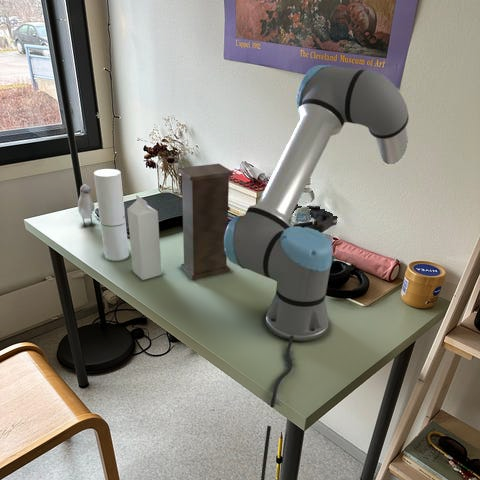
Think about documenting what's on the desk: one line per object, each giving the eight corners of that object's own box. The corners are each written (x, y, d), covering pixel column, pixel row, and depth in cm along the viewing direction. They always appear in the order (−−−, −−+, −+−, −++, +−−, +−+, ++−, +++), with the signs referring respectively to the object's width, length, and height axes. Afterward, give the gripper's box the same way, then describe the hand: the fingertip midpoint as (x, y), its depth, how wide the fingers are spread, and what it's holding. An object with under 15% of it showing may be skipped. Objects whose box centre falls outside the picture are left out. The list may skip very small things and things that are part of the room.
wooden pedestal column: (217, 260, 143) (219, 163, 126) (229, 271, 137) (233, 171, 121) (180, 268, 138) (177, 168, 121) (192, 280, 132) (190, 177, 116)
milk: (142, 280, 131) (135, 204, 118) (132, 271, 135) (125, 197, 122) (162, 274, 134) (157, 199, 121) (151, 266, 138) (146, 192, 125)
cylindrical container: (131, 251, 145) (124, 169, 131) (124, 261, 139) (115, 177, 125) (109, 249, 146) (99, 168, 132) (101, 259, 140) (89, 175, 126)
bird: (86, 234, 154) (79, 189, 146) (76, 219, 164) (69, 176, 155) (101, 231, 156) (95, 187, 148) (90, 217, 166) (84, 175, 158)
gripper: (360, 236, 144) (303, 248, 135) (311, 209, 162) (258, 218, 153) (364, 213, 140) (306, 224, 131) (314, 187, 158) (260, 195, 149)
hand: (280, 221), depth 142 cm, fingers open, 13 cm apart
